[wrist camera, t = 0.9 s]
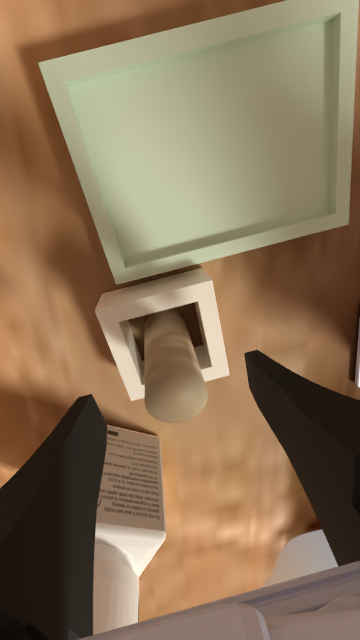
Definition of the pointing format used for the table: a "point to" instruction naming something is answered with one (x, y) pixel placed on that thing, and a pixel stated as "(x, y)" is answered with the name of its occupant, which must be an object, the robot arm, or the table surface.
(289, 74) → the tray
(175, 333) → the dowel
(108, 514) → the container
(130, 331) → the square block with hole
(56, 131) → the table surface
